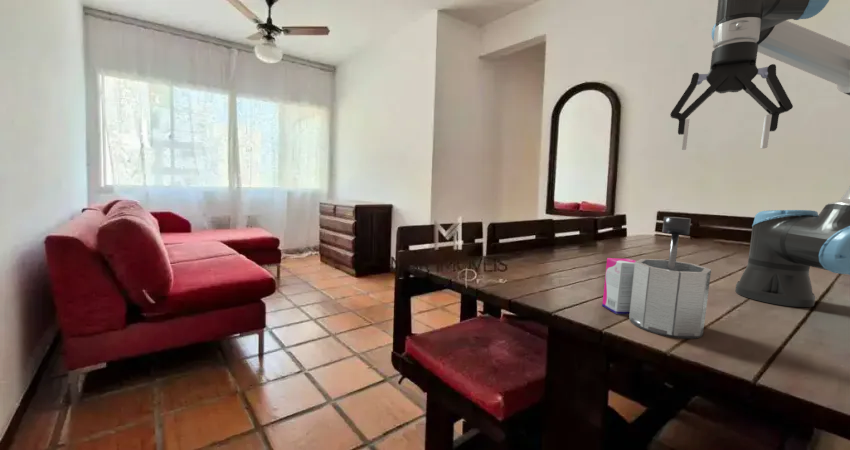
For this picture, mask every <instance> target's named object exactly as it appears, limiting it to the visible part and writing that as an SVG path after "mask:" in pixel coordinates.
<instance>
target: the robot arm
mask: <svg viewBox="0 0 850 450" xmlns="http://www.w3.org/2000/svg"><path fill="white" fill-rule="evenodd" d="M829 2H830V0H717V6H716V8H717V9H716V19H715V23H714V25H713V27H712V30H711V38H712V42H713V44H712V49H713V50H712V52H711V59H710V65H709V66H710V68H709V72H708V73H698V72H694V73H693V74H692V76H691V79H690V84H689V85H688V87H687V88H686V89H685V91H684V92H683V94H682V95H681V96H680V98H679V100H678V102H677V103H676V104H675V106H674V107H673V109H672V110H671V112H670V118H671V119H674V120H678V127H677V133H678V135H681V136H683V139H682V146H681V147H682V148H681V150H683V151H685V150H687V145H688V144H687V143H688V136H689V126H690V118H688V117H689V116H691V115H692V114H693V113H694V112H695V111H696V110H697V109H698V108H700V106H701V105H702V104H703V103H704V102H705V101H706V100H707V99H709V97H711V96H712V95H713V94H714V93H715V92H716V93H718V94H726V93H738V92H740V91H742V90H743V91H744V92H745V93H746V94H748V95H749V96H750V97H751V98H752V99H753V100H754V101H755V102H756V103H757V104H758V105H759V106H761V108H763V110H764V111H766V112H767V114H766V115H765V116H764V117H763V118H764V119H763V125H762V133H761V138H760V139H761V140H760V147H759V149H766V148H768V145H769V139H770V138H769V137H770V132H775V131H776V130H777V129H778V124H779V118H780V115H781V114H783V113H787V112H789V111H790V110H792V109H793V107H794V106H793V103H792V101H791V99H790V97H789V96H788V93H787V92H786V91H785V89H784V87H783V85H782V83H781V81H780V79H779V78H778V75H777V65H776V64H774V63H773V64H769V65H768V66H763V67H759V68H758V67H757V58H758V57H757V56H758V53H760V54H763V55H764V56H767V57H770V58H771V59H775V60H776V61H779V62H781V63H783V64H786V65H789V66H791V67H793V68H795V69H799V70H801V71H804V72H805V73H808V74H811V75H812V76H815V77H818V78H820V79H822V80H825V81H827V82H830V83H832V84H834V85H836V88H837V89H836V90H838V91H839V92H840V93H843V94H845V95H847V96H850V45H848V44H846V43H843V42H840V41H837V40H836V39H833V38H831V37H828V36H826V35H823V34H821V33H818V32H815V31H814V30H811V29H809V28H806V27H804V26H801V25H799V24H796V23H794V22H791V21H789V20H793V21H799V20H807V19H811V18H813V17H815V16H816V15H818V14H820V13H821V11H822V10H824V8H825V7H826V6H827V5H828V3H829ZM757 75H759V76H760V77H761V78H762V79H765V80H766V83H767V86H768V87H769V88H770V91H771V93H772V94H773V97H774V98H775V101H776V102H777V105H778V106H779V107H778V106H777V105H776V104H775V103H774V102H773V101H772V100H771V99H770V98H769V97H768V96H767V95H766V94H765V93H764V92H763V91H762V90H760V89H759V88H758V87H757V85H756V84H755V83H754V82H753V79H755V77H756V76H757ZM703 81H706V82H707V83H708V84H709V87H707V88H706V90H704V92H703V93H702V94H700V95H699V96H698V97H697V98H696V99H695V100H694V101H693V102H692V103H691V104H690V105H689V106H688V107H687V108H686V109H685V110H684V111H683V112H681V111H682V109H683V107H684V106H685V105H686V103H687V101H688V100H689V99H690V97H691V96H692V94H693V93H694V92H695V89H696V88H697V85H698V86H699V85H701V84H702V83H703ZM751 227H752V228H751V233H750V234H751V237H750V243H749V244H750V245H749V251H748V258H747V259H748V260H747V265H746V268H745V269H744V271H743V272H742V275H741V276H740V279H739V281H737V282H736V285H735V293H737V294H738V295H740V296H741V297H745V298H748V299H752V300H755V301H758V302H759V301H760V302H763V303H768V304H773V305H779V306H786V307H794V308H795V307H796V308H810V307H814V306H815V302H816V294H815V293H813V286H812V282H811V278H810V268H812V267H813V268H817V269H820V270H821V269H822V270H826V271H829V272H831V273H834V274H839V275H848V276H850V186H849V187H848V188H847V190H845V192H844V194H843V195H842V197H841V198H840V200H836V201H832V202H827V203H826V204H825V206H823V208H822V210H821V211H820V212H818V211H817V210H812V209H809V210H807V209H777V210H776V209H775V210H773V209H772V210H770V209H769V210H762V211H759V212H757V213H756V214H755V216H754V219H753V223H752V225H751Z"/></svg>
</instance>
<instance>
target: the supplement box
mask: <svg viewBox="0 0 850 450" xmlns="http://www.w3.org/2000/svg"><path fill="white" fill-rule="evenodd" d="M635 261H636V260H635V259H632V258H614V257H612V258H611V257H607V259H606V265H605V275H604V286H603V297H602V305H601V306H602V307H603V308H605V309H607V310H608V311H611V312H612V313H614V314H615V315H629V314H630V304H631V294H632V285H633V275H634V265H635Z"/></svg>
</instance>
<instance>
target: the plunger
mask: <svg viewBox="0 0 850 450" xmlns="http://www.w3.org/2000/svg"><path fill="white" fill-rule="evenodd" d="M691 221H692V218H690V217H689V218H688V217H679V216H663V222H662V233H664V234H671V237H670V238H671V239H670V245H669V255H668V260H669V262H668V270H674V271H675V265H676V261H677V257H678V256H677V255H678V246H679V237H680V235H683V236H687V235H688V236H689V235H690V232H691V229H690V228H691Z"/></svg>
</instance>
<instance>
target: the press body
mask: <svg viewBox="0 0 850 450" xmlns="http://www.w3.org/2000/svg"><path fill="white" fill-rule="evenodd" d="M668 262H669V259H662V258H659V259H658V258H654V259H653V258H640V259H638V260H635V265H634V275H633V285H632V294H631V304H630V314H628V316H629V317H628V318H629V321H630V323H631V324H632V325H634V326H635V327H637V328H639V329H641V330H643V331H646V332H650V333H652V334H655V335H659V336H663V337H667V338H673V339H679V340H680V339H681V340H682V339H683V340H692V339H693V340H694V339H695V340H696V339H699V338H701V337H703V335H704V330H705V329H704V327H705V322H706V321H705V320H706V314H707V313H706V312H707V304H708V298H709V297H708V296H709V289H710V283H711V276H712V275H711V273H712V269H711V268H708V267H704V266H702V265H698V264H695V263H691V262H684V261H678V260H676V265H675V271H674V270H668Z"/></svg>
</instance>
